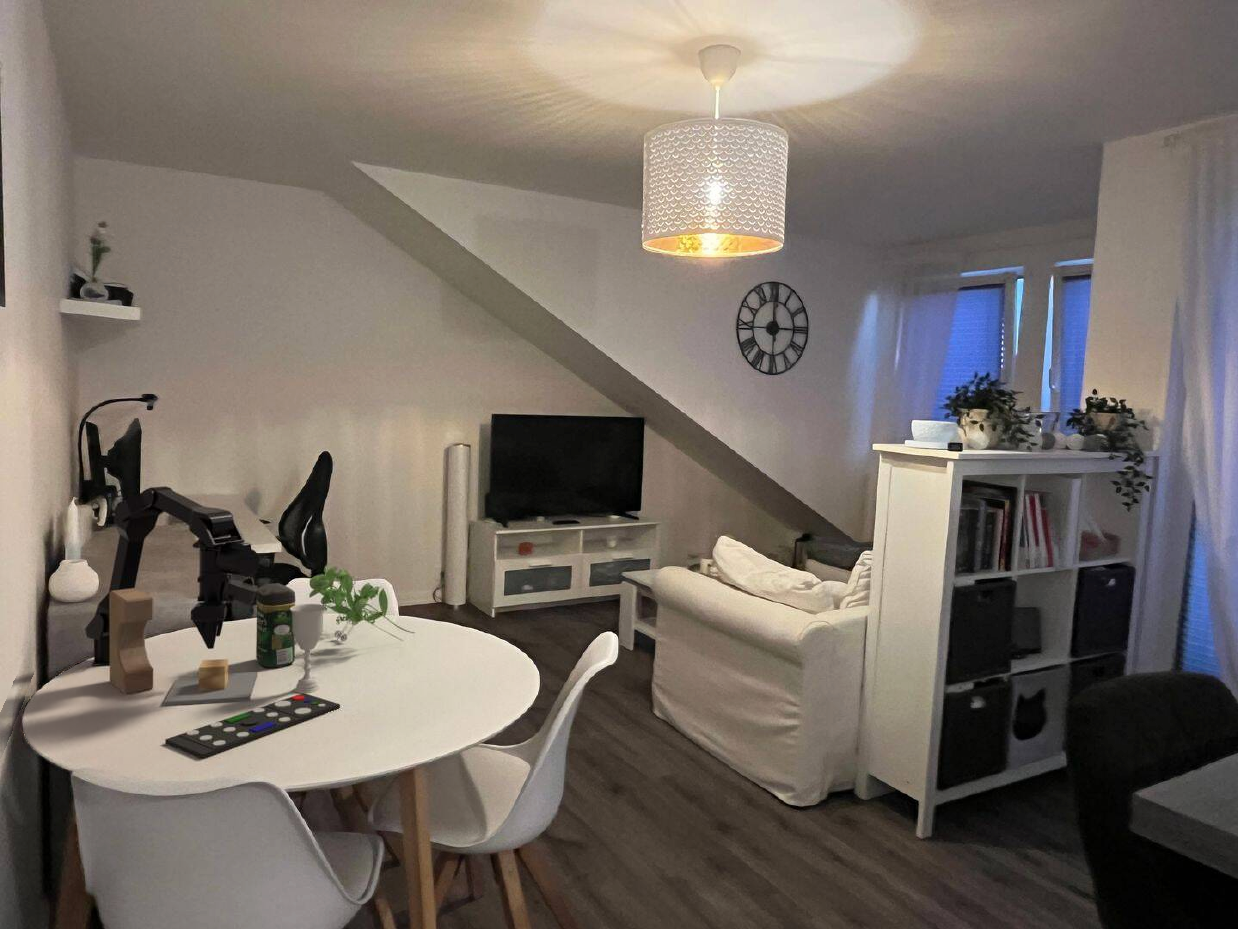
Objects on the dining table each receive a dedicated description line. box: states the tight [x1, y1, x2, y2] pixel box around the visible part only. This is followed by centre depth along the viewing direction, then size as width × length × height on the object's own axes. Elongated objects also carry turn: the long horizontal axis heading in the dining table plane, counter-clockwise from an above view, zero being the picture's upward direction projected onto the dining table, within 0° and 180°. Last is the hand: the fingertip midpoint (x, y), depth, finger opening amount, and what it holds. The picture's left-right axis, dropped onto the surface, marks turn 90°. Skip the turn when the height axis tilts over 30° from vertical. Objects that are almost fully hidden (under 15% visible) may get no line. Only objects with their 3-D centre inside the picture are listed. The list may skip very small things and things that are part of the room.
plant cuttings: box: [309, 565, 416, 643], centre depth 222 cm, size 35×17×22 cm
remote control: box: [164, 693, 341, 761], centre depth 164 cm, size 11×30×2 cm, turn 149°
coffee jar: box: [255, 582, 296, 668], centre depth 200 cm, size 10×8×19 cm
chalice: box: [290, 603, 327, 694], centre depth 184 cm, size 7×7×18 cm
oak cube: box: [198, 658, 229, 691], centre depth 182 cm, size 5×5×5 cm
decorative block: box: [108, 587, 154, 695], centre depth 181 cm, size 11×6×20 cm, turn 45°
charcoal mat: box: [163, 671, 258, 707], centre depth 182 cm, size 16×16×1 cm
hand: (214, 642), depth 181 cm, fingers open, 9 cm apart
